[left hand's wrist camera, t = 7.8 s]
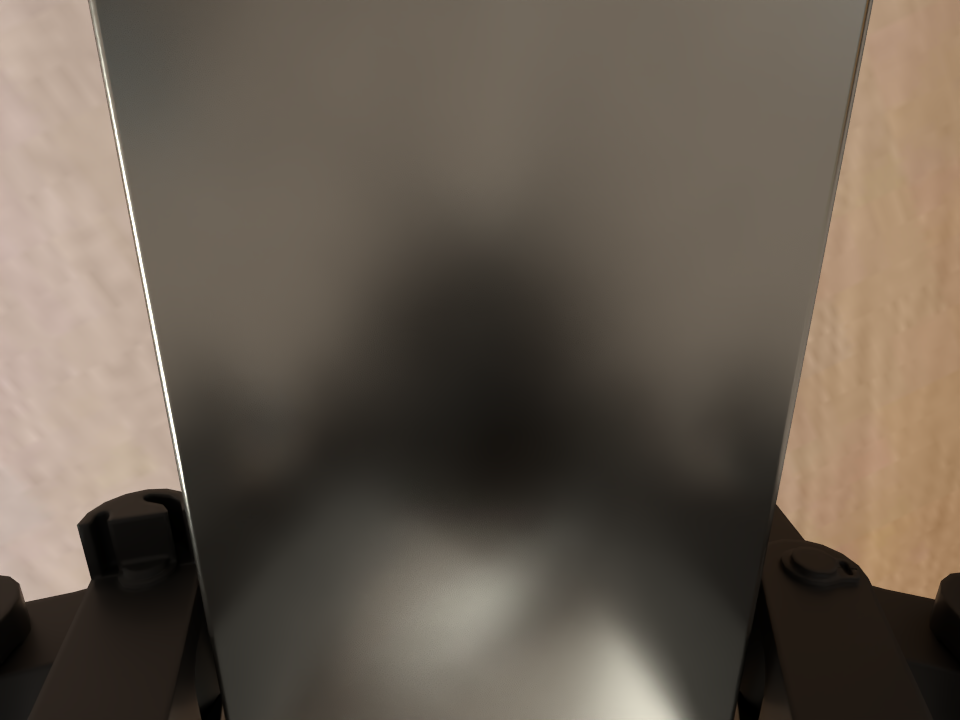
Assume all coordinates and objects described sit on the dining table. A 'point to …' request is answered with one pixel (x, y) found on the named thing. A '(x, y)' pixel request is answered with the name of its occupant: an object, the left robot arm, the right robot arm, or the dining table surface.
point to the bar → (480, 334)
